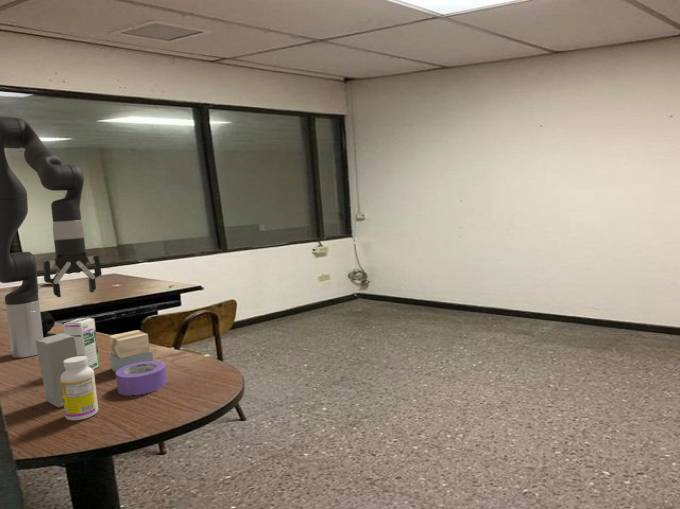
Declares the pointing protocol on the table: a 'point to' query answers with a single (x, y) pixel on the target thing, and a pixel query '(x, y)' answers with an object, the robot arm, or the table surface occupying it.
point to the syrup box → (84, 339)
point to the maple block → (129, 344)
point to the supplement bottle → (78, 389)
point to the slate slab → (128, 360)
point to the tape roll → (141, 378)
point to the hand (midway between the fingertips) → (75, 294)
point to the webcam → (47, 324)
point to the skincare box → (54, 363)
